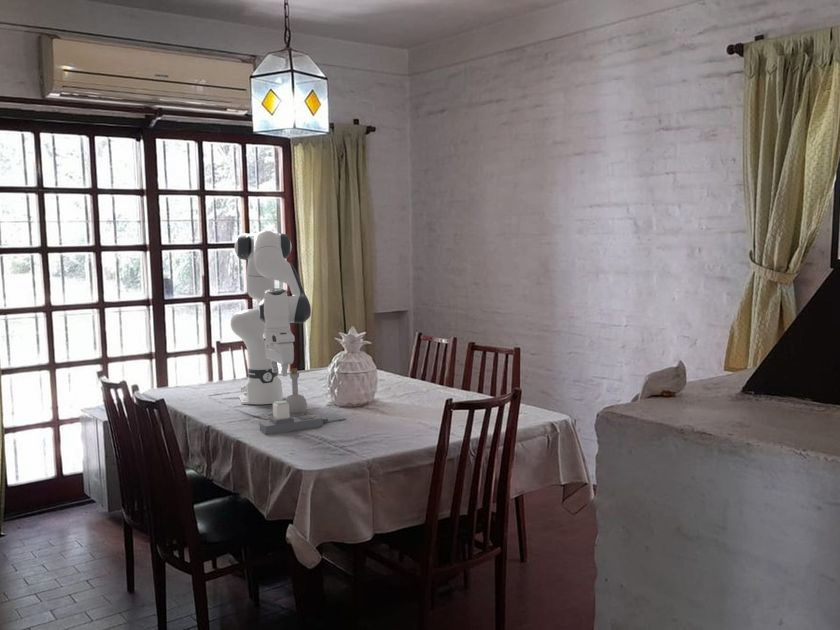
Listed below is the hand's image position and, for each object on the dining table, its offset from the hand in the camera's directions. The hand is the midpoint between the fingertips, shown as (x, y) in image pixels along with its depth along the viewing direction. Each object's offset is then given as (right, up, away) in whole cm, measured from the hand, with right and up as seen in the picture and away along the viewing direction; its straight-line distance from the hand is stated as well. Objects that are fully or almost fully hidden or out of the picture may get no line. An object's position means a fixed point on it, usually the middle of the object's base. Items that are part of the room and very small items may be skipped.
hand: (279, 374), depth 277 cm
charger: (0, -17, +2) cm, 17 cm away
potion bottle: (+2, -18, +27) cm, 32 cm away
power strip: (+5, -19, +5) cm, 21 cm away
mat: (+15, -18, +17) cm, 29 cm away
